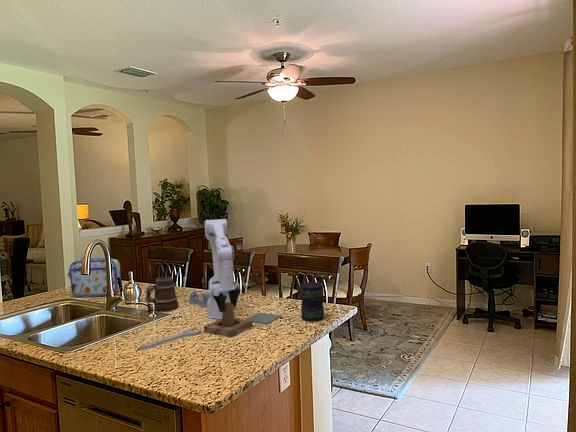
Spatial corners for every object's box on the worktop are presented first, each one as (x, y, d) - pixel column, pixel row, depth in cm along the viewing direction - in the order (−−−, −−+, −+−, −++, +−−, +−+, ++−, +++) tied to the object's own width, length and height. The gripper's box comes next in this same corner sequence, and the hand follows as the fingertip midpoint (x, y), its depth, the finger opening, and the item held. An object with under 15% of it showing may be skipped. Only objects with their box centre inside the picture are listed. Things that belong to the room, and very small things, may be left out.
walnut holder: (204, 332, 173) (203, 326, 173) (225, 322, 185) (225, 316, 185) (232, 337, 166) (231, 331, 166) (252, 326, 178) (252, 320, 178)
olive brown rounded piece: (221, 327, 178) (220, 301, 178) (236, 326, 179) (235, 300, 178) (220, 332, 172) (219, 305, 172) (235, 331, 173) (234, 304, 172)
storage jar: (309, 313, 194) (308, 281, 193) (328, 317, 188) (327, 283, 187) (297, 319, 186) (295, 285, 185) (316, 323, 180) (315, 288, 179)
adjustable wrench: (142, 351, 156) (141, 347, 156) (135, 347, 161) (134, 342, 161) (203, 334, 172) (202, 329, 172) (195, 330, 177) (195, 326, 177)
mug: (170, 303, 219) (169, 274, 218) (182, 308, 210) (181, 277, 209) (141, 310, 209) (139, 280, 208) (152, 315, 200) (150, 283, 199)
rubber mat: (243, 320, 187) (243, 319, 187) (258, 313, 197) (258, 312, 197) (267, 324, 181) (267, 323, 181) (281, 316, 191) (281, 315, 191)
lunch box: (66, 298, 237) (63, 259, 236) (74, 294, 248) (72, 256, 246) (117, 296, 239) (114, 257, 237) (123, 292, 249) (121, 254, 248)
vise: (220, 303, 216) (219, 290, 216) (203, 308, 209) (202, 295, 209) (200, 298, 229) (199, 286, 229) (183, 302, 222) (182, 289, 221)
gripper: (223, 280, 166) (224, 315, 167) (244, 273, 179) (246, 305, 179) (208, 279, 169) (210, 313, 170) (231, 272, 182) (232, 304, 183)
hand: (227, 309), depth 175 cm, fingers open, 7 cm apart
